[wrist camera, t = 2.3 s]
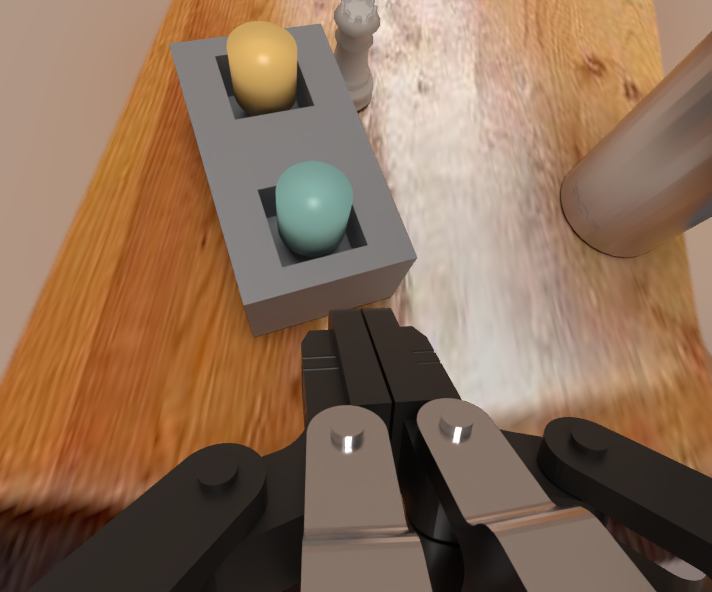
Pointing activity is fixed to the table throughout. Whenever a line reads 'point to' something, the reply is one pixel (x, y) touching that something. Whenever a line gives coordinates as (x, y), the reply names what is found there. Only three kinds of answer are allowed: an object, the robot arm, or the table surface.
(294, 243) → the teal button
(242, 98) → the amber button
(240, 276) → the console
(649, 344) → the table surface
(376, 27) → the rook chess piece
